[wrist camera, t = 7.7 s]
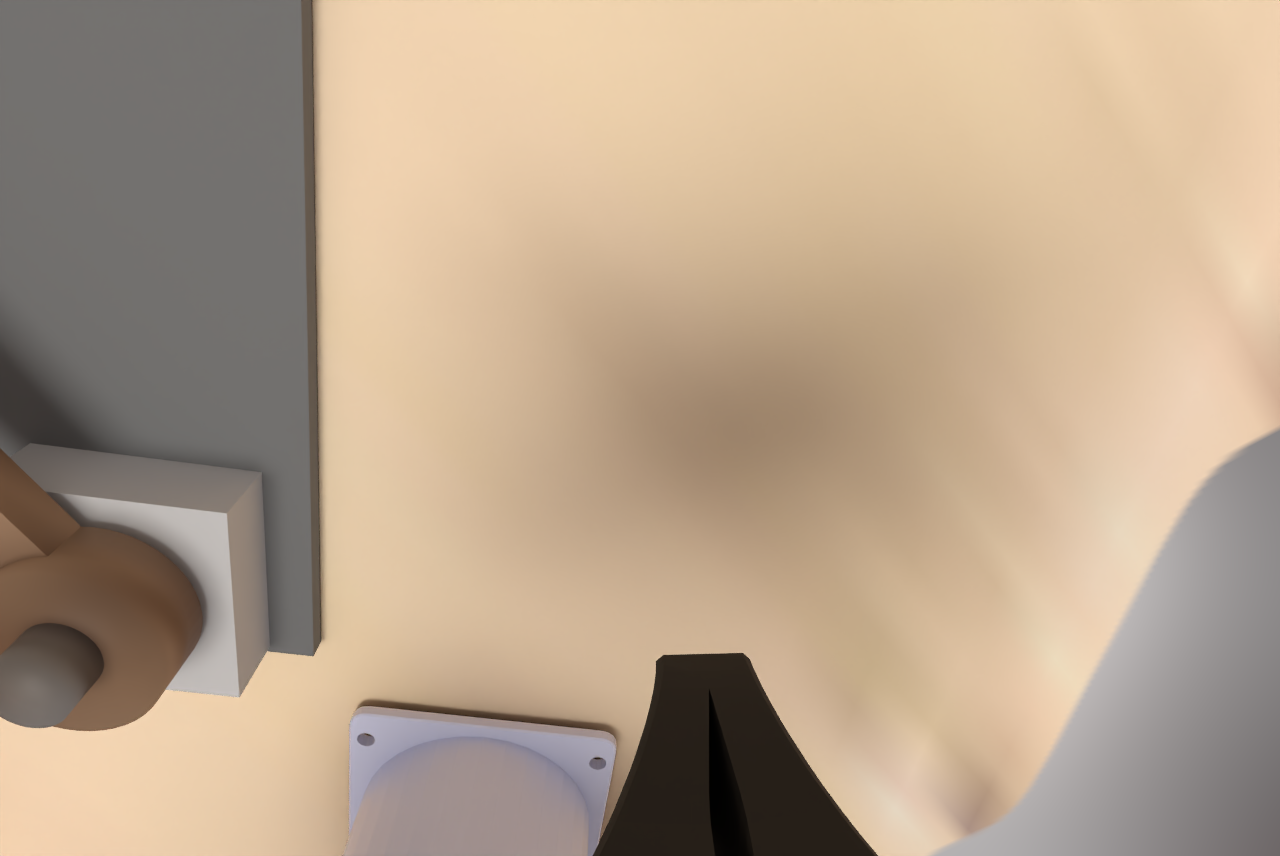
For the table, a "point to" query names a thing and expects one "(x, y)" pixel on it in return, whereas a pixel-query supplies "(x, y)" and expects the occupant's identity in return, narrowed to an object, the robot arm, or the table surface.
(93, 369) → the plate
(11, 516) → the lever
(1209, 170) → the table surface
